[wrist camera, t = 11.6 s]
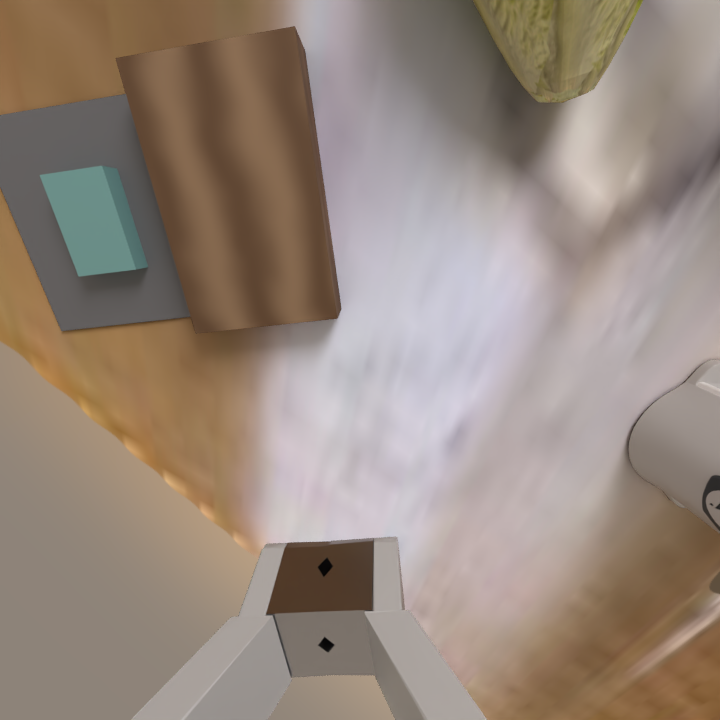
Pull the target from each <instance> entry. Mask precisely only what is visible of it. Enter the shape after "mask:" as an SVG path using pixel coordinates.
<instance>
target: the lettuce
mask: <svg viewBox="0 0 720 720" xmlns="http://www.w3.org/2000/svg"><path fill="white" fill-rule="evenodd" d="M642 1H643V0H473V2H474V4H475V6H476V8H477V10H478V12H479V14H480V16H481V17H482V19H483V21H484V23H485V25H486V27H487V29H488V31H489V33H490V35H491V37H492V38H493V40H494V42H495V43H496V45H497V47H498V49H499V50H500V52H501V54H502V56H503V57H504V59H505V61H506V62H507V64H508V66H509V68H510V69H511V71H512V72H513V73H514V75H515V76H516V78H517V79H518V80H519V82H520V83H521V85H522V86H523V87H524V88H525V89H526V90H527V92H528V93H529V94H530V95H531V96H532V97H533V98H534V99H535V100H536V101H537V102H565V101H567V100H570V99H573V98H575V97H578V96H580V95H583V94H585V93H588V92H589V91H591V90H593V89H594V88H595V86H596V85H597V83H598V82H599V80H600V79H601V77H602V75H603V74H604V72H605V71H606V69H607V68H608V66H609V64H610V63H611V61H612V59H613V57H614V55H615V53H616V52H617V50H618V48H619V46H620V44H621V43H622V41H623V39H624V37H625V35H626V34H627V32H628V30H629V27H630V25H631V23H632V21H633V19H634V17H635V15H636V13H637V11H638V9H639V7H640V5H641V3H642Z"/></svg>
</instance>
